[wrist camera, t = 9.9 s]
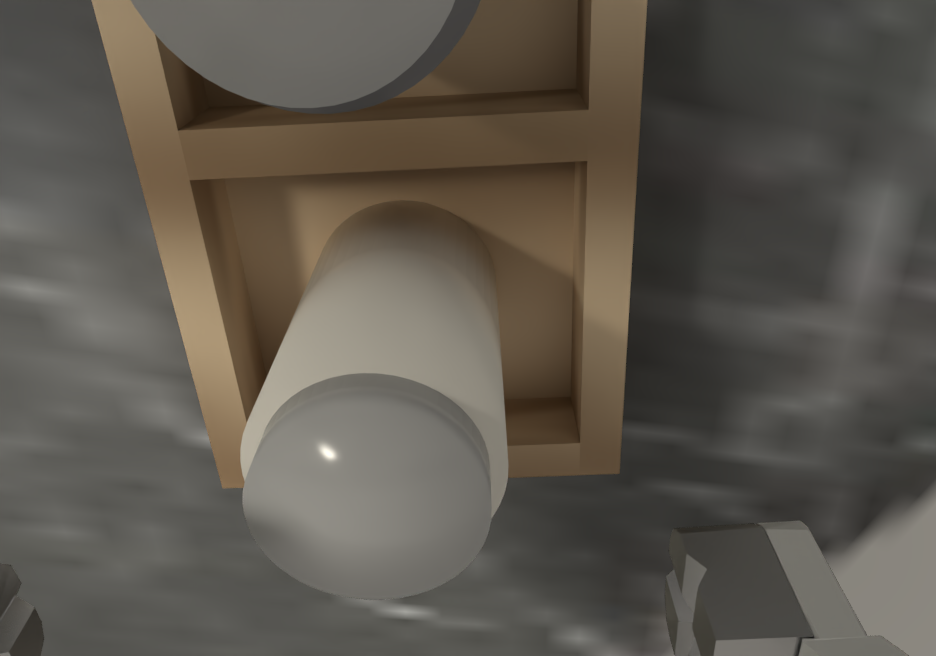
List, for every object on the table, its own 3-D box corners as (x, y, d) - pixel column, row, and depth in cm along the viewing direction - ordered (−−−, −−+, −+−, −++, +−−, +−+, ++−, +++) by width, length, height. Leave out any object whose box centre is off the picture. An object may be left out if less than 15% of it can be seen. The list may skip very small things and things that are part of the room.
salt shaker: (303, 204, 18) (193, 399, 11) (493, 195, 17) (508, 387, 10) (330, 365, 20) (252, 616, 13) (498, 358, 20) (514, 608, 13)
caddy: (74, -356, 14) (-22, -420, 11) (634, -395, 13) (674, -470, 11) (252, 418, 22) (222, 488, 19) (601, 404, 21) (619, 473, 19)
